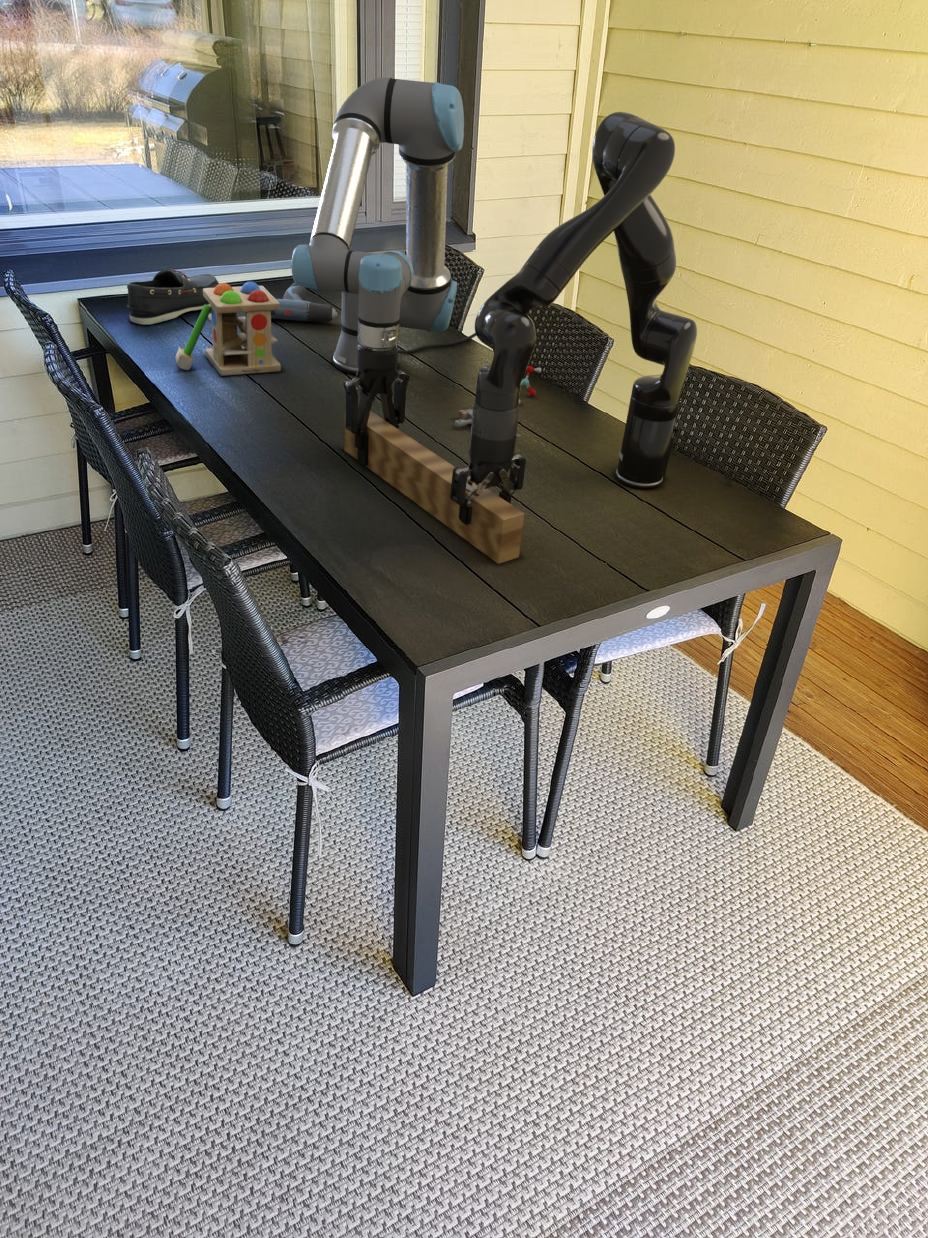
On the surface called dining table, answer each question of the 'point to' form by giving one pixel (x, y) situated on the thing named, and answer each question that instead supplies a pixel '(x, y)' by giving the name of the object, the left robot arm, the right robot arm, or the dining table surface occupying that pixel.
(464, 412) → the clamp
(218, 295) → the pounding bench toy
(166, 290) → the boat shoe
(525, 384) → the molecular model
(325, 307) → the power drill
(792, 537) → the dining table surface
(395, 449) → the bar
